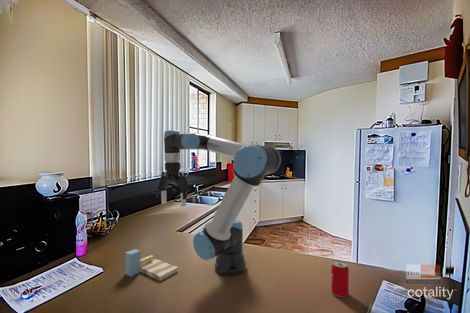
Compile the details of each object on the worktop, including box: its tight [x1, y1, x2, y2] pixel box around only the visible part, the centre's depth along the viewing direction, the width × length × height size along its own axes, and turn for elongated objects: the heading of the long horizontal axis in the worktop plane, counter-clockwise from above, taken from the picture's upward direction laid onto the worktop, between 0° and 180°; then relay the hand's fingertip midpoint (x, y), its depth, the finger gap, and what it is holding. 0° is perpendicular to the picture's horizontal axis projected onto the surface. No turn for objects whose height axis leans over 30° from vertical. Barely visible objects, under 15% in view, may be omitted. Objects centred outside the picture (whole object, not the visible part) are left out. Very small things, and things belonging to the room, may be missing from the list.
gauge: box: [124, 248, 155, 278], centre depth 116 cm, size 4×13×10 cm, turn 145°
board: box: [140, 257, 179, 282], centre depth 116 cm, size 20×10×2 cm, turn 55°
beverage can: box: [330, 260, 350, 298], centre depth 96 cm, size 6×6×12 cm
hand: (173, 204), depth 122 cm, fingers open, 13 cm apart
